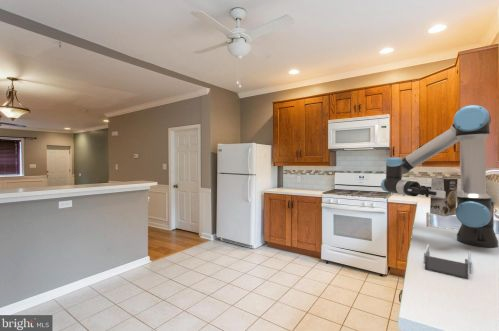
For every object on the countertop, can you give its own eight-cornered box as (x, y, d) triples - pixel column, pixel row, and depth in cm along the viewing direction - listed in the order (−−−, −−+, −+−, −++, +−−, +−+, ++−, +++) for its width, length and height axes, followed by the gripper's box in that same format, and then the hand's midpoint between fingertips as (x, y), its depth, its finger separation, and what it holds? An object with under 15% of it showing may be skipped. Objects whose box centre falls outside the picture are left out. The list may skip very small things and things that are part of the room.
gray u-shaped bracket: (427, 253, 110) (427, 241, 110) (470, 261, 101) (470, 249, 101) (421, 268, 95) (422, 255, 95) (471, 280, 86) (472, 265, 86)
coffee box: (445, 216, 109) (447, 179, 108) (429, 213, 115) (430, 177, 114) (456, 215, 113) (458, 178, 112) (440, 212, 119) (442, 177, 118)
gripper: (425, 194, 134) (472, 202, 112) (390, 195, 128) (433, 204, 106) (426, 180, 134) (473, 185, 112) (391, 181, 128) (434, 186, 106)
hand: (454, 194), depth 109 cm, fingers closed on coffee box, 10 cm apart
